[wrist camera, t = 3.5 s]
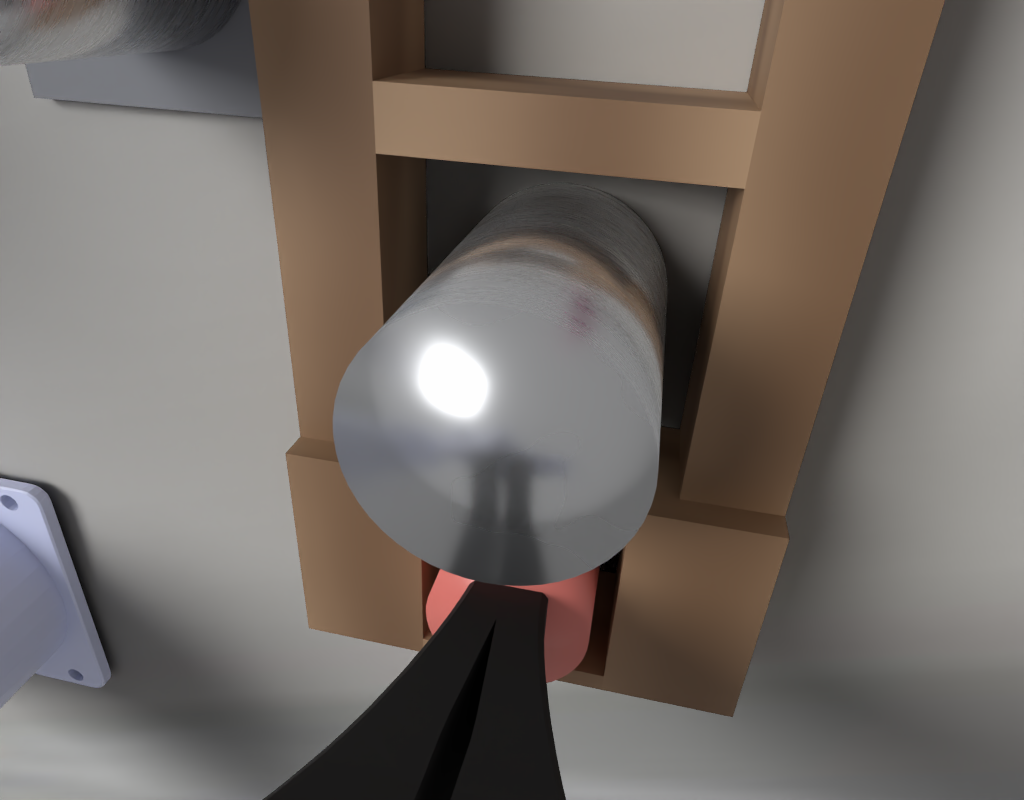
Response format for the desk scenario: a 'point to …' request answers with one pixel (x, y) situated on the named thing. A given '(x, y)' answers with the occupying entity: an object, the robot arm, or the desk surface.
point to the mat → (165, 75)
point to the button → (563, 620)
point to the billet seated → (516, 394)
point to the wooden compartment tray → (726, 316)
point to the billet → (105, 27)
